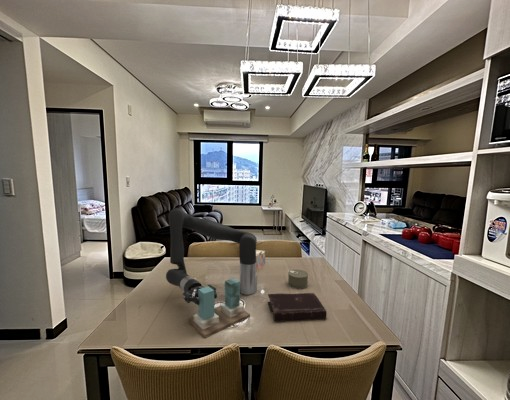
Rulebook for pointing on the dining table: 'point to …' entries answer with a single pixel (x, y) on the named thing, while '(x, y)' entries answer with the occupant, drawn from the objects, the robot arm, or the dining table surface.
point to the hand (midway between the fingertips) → (207, 299)
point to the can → (297, 278)
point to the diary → (296, 307)
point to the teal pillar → (206, 302)
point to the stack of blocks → (259, 259)
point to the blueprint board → (222, 312)
